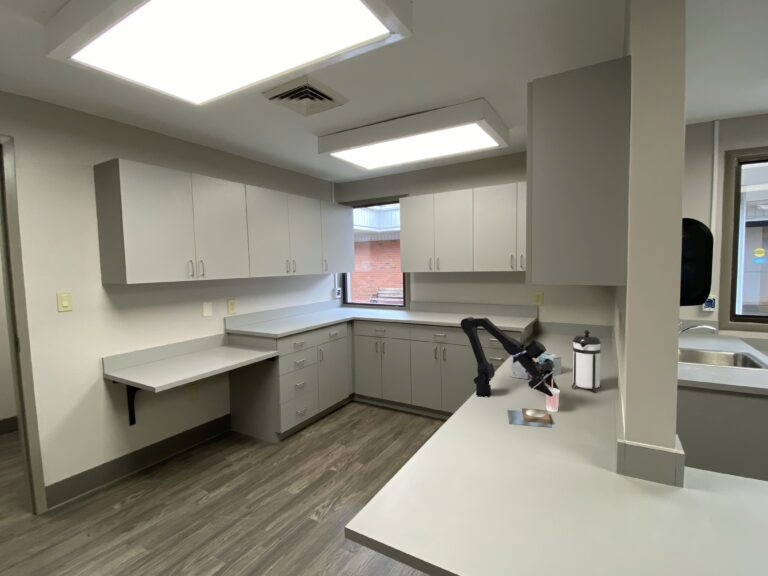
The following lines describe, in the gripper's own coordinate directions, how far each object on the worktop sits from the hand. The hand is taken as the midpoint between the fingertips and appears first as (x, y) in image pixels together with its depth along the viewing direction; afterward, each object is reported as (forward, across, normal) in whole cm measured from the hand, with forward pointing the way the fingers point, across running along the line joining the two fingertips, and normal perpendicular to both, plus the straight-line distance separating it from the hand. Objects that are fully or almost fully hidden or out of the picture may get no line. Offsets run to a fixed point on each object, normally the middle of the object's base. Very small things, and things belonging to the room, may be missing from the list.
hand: (555, 392), depth 164 cm
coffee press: (+9, +40, +2) cm, 41 cm away
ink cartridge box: (-14, +38, +26) cm, 48 cm away
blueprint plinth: (+1, -15, +10) cm, 18 cm away
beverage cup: (+5, 0, +7) cm, 8 cm away
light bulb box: (-6, +55, +18) cm, 58 cm away
